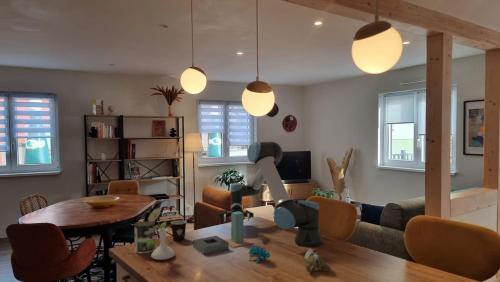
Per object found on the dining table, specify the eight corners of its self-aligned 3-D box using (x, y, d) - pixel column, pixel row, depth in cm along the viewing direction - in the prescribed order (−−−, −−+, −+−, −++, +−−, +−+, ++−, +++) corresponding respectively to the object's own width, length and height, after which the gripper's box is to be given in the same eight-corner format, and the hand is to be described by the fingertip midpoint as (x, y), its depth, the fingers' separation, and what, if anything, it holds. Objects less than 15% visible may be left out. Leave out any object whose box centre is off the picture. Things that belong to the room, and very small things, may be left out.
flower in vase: (167, 251, 171) (166, 203, 170) (179, 257, 162) (178, 207, 162) (143, 258, 161) (143, 207, 161) (155, 265, 153) (154, 211, 153)
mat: (253, 243, 183) (253, 242, 183) (233, 247, 176) (233, 246, 176) (241, 237, 194) (241, 236, 194) (221, 241, 187) (221, 240, 187)
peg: (243, 241, 184) (243, 213, 184) (235, 243, 181) (235, 214, 181) (239, 239, 188) (238, 211, 188) (231, 240, 186) (231, 212, 185)
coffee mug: (188, 237, 194) (188, 220, 194) (183, 242, 186) (183, 224, 186) (169, 236, 196) (168, 220, 195) (163, 241, 187) (163, 224, 187)
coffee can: (159, 248, 175) (158, 222, 175) (143, 255, 166) (143, 227, 166) (145, 245, 180) (145, 220, 180) (130, 251, 172) (129, 224, 171)
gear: (274, 256, 159) (264, 246, 153) (271, 268, 155) (261, 258, 149) (254, 255, 164) (245, 245, 159) (251, 266, 161) (241, 256, 155)
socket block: (228, 250, 173) (228, 242, 173) (203, 255, 165) (203, 247, 165) (216, 242, 185) (216, 235, 184) (193, 247, 177) (193, 239, 177)
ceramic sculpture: (321, 243, 155) (332, 257, 140) (320, 261, 156) (332, 277, 141) (299, 245, 154) (308, 258, 139) (298, 263, 155) (308, 278, 140)
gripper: (256, 215, 211) (258, 225, 189) (216, 216, 209) (214, 225, 188) (256, 204, 210) (258, 212, 189) (216, 204, 209) (214, 212, 188)
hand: (236, 218), depth 189 cm, fingers open, 13 cm apart
